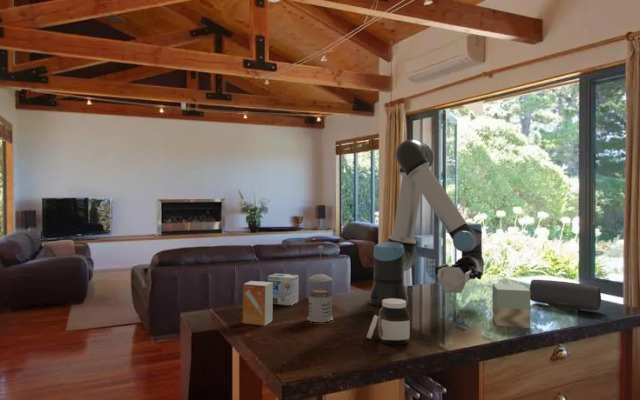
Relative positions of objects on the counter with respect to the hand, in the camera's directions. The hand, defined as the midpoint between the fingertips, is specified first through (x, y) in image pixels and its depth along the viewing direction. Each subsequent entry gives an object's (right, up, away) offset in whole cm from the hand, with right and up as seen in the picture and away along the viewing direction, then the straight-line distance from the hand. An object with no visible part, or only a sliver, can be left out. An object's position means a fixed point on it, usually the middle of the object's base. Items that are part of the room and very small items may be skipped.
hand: (452, 276), depth 149 cm
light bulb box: (-58, -16, +30) cm, 67 cm away
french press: (-43, -16, +7) cm, 46 cm away
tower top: (+20, -10, +3) cm, 23 cm away
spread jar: (-24, -16, -17) cm, 33 cm away
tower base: (+20, -16, +3) cm, 26 cm away
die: (+1, -6, +4) cm, 8 cm away
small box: (-64, -16, +1) cm, 66 cm away
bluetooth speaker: (+49, -16, +24) cm, 57 cm away
